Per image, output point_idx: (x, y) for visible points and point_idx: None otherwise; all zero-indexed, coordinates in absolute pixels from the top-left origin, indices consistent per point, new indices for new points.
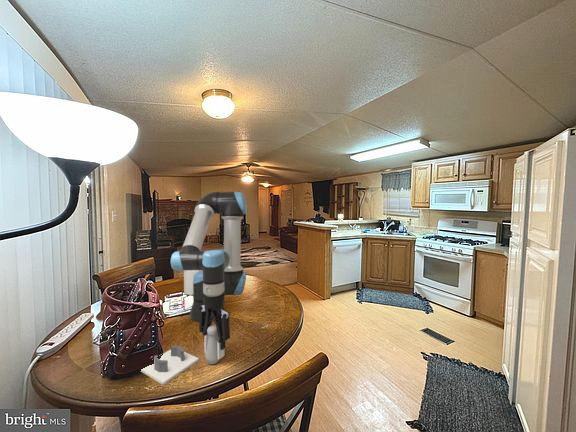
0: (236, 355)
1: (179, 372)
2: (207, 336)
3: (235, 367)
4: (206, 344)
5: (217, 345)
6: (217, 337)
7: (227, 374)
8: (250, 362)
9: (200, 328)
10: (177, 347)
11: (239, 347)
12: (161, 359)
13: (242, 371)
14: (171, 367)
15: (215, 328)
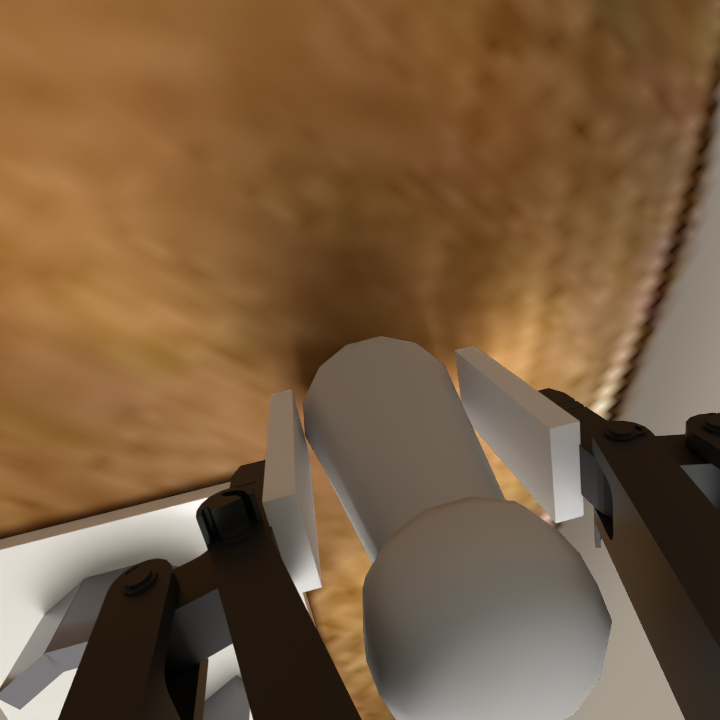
0: (467, 196)
1: (312, 619)
2: (311, 548)
3: (578, 307)
4: (310, 498)
5: (527, 488)
6: (496, 493)
7: (582, 392)
8: (642, 173)
9: (180, 716)
10: (72, 668)
11: (384, 73)
12: (59, 683)
13: (653, 296)
14: (225, 653)
15: (595, 670)
